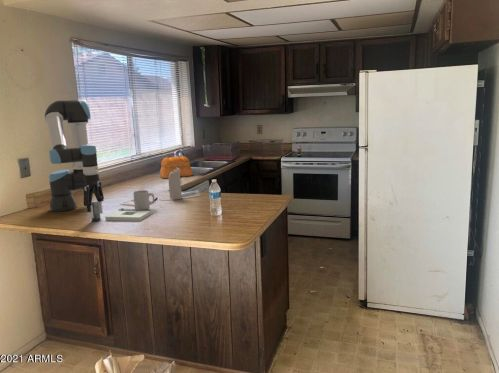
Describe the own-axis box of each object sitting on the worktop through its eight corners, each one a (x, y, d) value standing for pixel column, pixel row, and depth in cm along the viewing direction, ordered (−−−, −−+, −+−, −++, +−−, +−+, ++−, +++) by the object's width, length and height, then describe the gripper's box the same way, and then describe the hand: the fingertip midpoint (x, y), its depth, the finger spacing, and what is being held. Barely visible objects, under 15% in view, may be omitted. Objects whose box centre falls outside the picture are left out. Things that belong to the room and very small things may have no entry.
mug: (137, 212, 243) (135, 194, 241) (133, 209, 250) (131, 191, 248) (157, 209, 249) (156, 191, 247) (152, 206, 256) (151, 188, 254)
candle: (159, 198, 277) (157, 168, 273) (180, 196, 281) (178, 166, 277) (160, 201, 270) (158, 170, 266) (182, 199, 274) (180, 168, 270)
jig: (105, 220, 229) (105, 215, 228) (119, 212, 244) (119, 207, 243) (140, 221, 225) (139, 215, 224) (152, 213, 240) (152, 208, 240)
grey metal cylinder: (89, 221, 227) (87, 203, 225) (94, 219, 231) (92, 201, 229) (97, 221, 226) (95, 203, 224) (102, 219, 230) (100, 201, 228)
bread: (194, 176, 361) (192, 156, 358) (163, 179, 350) (162, 158, 347) (188, 173, 375) (187, 154, 372) (159, 176, 364) (157, 156, 361)
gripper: (86, 177, 213) (91, 221, 217) (108, 170, 233) (112, 210, 238) (72, 177, 214) (77, 220, 218) (95, 170, 235) (99, 210, 239)
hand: (95, 215), depth 228 cm, fingers open, 9 cm apart
